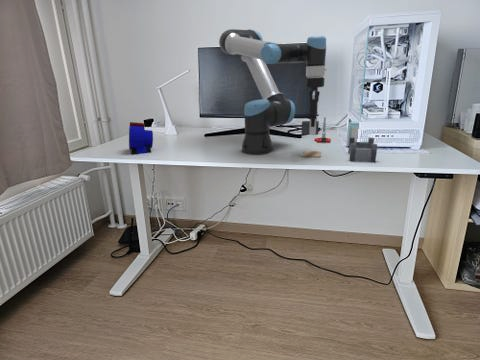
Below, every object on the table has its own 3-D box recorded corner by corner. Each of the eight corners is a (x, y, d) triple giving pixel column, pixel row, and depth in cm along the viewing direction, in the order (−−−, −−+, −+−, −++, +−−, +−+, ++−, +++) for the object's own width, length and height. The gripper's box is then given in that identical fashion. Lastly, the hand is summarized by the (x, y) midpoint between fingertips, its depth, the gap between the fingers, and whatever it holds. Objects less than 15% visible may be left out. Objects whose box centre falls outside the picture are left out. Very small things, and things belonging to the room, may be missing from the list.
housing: (349, 160, 131) (351, 144, 128) (348, 152, 143) (349, 137, 141) (375, 162, 128) (377, 145, 126) (371, 152, 141) (373, 137, 138)
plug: (301, 134, 137) (301, 122, 135) (302, 132, 141) (302, 121, 140) (317, 134, 135) (318, 122, 133) (318, 132, 140) (318, 121, 138)
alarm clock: (129, 149, 163) (124, 120, 158) (153, 146, 167) (149, 118, 162) (130, 155, 152) (125, 124, 147) (156, 152, 156) (152, 122, 151)
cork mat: (301, 156, 139) (301, 155, 139) (303, 152, 146) (303, 150, 146) (320, 157, 137) (320, 156, 137) (321, 152, 144) (321, 151, 144)
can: (353, 144, 156) (355, 120, 152) (365, 147, 150) (367, 122, 146) (343, 146, 153) (345, 122, 149) (354, 149, 147) (356, 124, 143)
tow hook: (313, 139, 171) (315, 143, 162) (315, 115, 167) (316, 117, 158) (329, 139, 169) (332, 143, 161) (331, 115, 165) (333, 117, 157)
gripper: (323, 77, 121) (320, 137, 129) (325, 76, 137) (322, 128, 145) (304, 78, 123) (302, 136, 131) (307, 76, 139) (305, 128, 147)
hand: (312, 132), depth 138 cm, fingers closed on plug, 5 cm apart
